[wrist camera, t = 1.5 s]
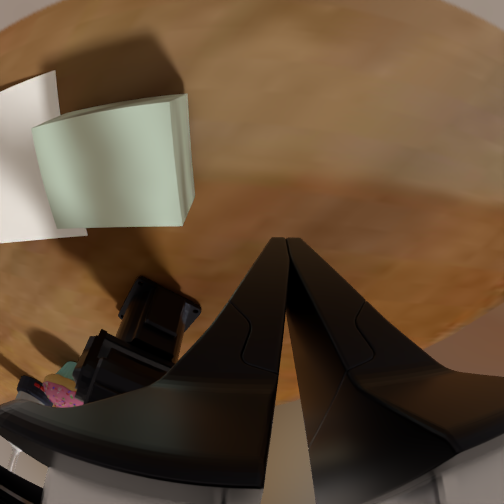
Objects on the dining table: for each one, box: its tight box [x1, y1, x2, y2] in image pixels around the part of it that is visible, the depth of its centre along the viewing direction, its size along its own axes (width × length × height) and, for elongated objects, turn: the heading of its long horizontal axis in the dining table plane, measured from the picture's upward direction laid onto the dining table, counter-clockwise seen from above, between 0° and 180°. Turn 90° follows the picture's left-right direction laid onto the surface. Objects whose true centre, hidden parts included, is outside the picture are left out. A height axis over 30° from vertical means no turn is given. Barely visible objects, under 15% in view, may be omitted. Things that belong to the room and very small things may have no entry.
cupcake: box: [42, 361, 83, 408], centre depth 31 cm, size 9×8×12 cm
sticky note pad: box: [31, 94, 195, 229], centre depth 17 cm, size 9×7×5 cm
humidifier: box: [7, 376, 53, 472], centre depth 33 cm, size 8×8×25 cm
